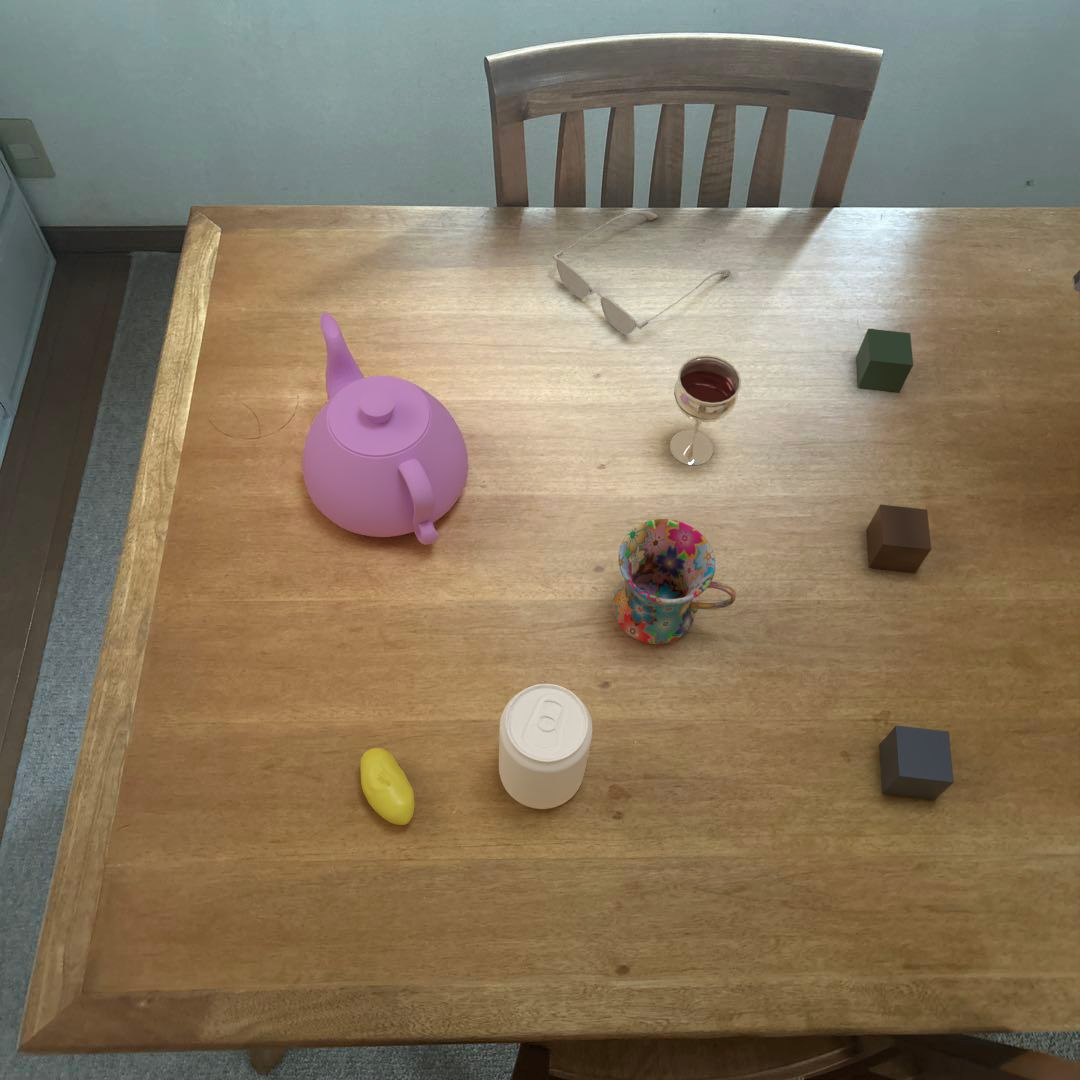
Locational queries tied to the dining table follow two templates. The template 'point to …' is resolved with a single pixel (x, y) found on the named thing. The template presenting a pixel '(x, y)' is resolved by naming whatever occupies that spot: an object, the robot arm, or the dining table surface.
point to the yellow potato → (386, 786)
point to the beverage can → (544, 745)
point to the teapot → (381, 451)
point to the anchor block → (916, 762)
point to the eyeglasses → (610, 308)
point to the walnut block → (898, 538)
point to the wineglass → (703, 403)
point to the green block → (884, 360)
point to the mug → (664, 580)
